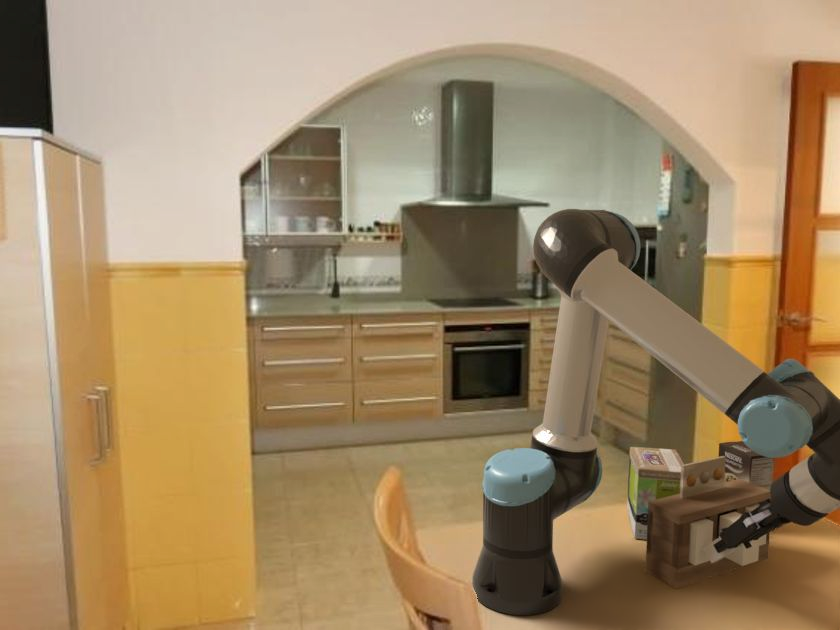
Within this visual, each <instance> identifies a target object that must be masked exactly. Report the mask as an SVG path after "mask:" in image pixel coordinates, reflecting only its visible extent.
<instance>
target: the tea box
mask: <svg viewBox="0 0 840 630" xmlns="http://www.w3.org/2000/svg"><path fill="white" fill-rule="evenodd" d="M628 456H629V457H628V459H629V460H628V462H629V463H628V479H627V499H626V500H627V501H626V510H627V513H628V518H629V523H630V526H631V530H632V534H633V537H634V539H637V540H638V539H639V540H644V541H647V523H648V502H649V501H653V500H657V499H661V498H665V497H669V496H673V495H677V494H680V480H681V465H685V464H686V463H684V461H683V460H682V458H681V455H680V454H679V453H678V451H677V449H674V448H673V449H670V448H655V447H640V446H630V447H629V455H628Z"/></svg>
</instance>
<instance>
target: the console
mask: <svg viewBox="0 0 840 630" xmlns="http://www.w3.org/2000/svg"><path fill="white" fill-rule="evenodd" d="M725 461H726V457H725V456H720V457H718V456H715V457H713V458H707V459H703V460H698V461H693V462H690V463H684V464H685V465H681V480H680V494H677V495H673V496H669V497H665V498H661V499H657V500H653V501H649V502H648V523H647V540H646V553H645V572H647V573H648V574H650V575H652V576H654V577H655V578H658V579H659V580H661V581H662V582H665V583H666V584H668V585H669V586H671V587H673V588H674V589H680V588H683V587H686V586H689V585H691V584H695V583H698V582H700V581H703V580H706V579H710V578H712V577H715V576H718V575H721V574H725V573H728V572H729V571H733V570H735V569H739V568H742V567H744V566H748V565H751V564H753V563H757V562H760V561H763V560H765V559H768V558H769V549H770V548H769V547H770V534H771V533H770V532H769V533H767V534H766V544H764V545H761V546H759V556H758V561H756V562H753V563H750V564H747V565H744V566H742V565H740V564H738V563H736V562H734V561H732V560H730V559H727V558H725V557H724V558H723V559H721V560H719V561H718V562H715V563H711V562H710V561H707V562H704V563H701V564H698V565H693V564H692V563H690V562H688V559H689V537H690V521H694V520H698V519H701V518H706V519H708V520H711V521H713V537H712V542H713V541H714V540H716V539H717V538H719V521H720V516H721V515H725V514H728V513H729V511H730V510H731V513H732V512H737V513H740V514H742V515H743V513H745V506H748V505H751V504H755V503H759V504H760V503H762V502H763V501H765V500H767V499H770V500H771V494H770V490H768V489H765V488H763V487H760V486H757V485H755V484H752V483H749V482H746V481H744V480H741V479H736V480H732V481H728V482H724V480H725Z"/></svg>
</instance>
